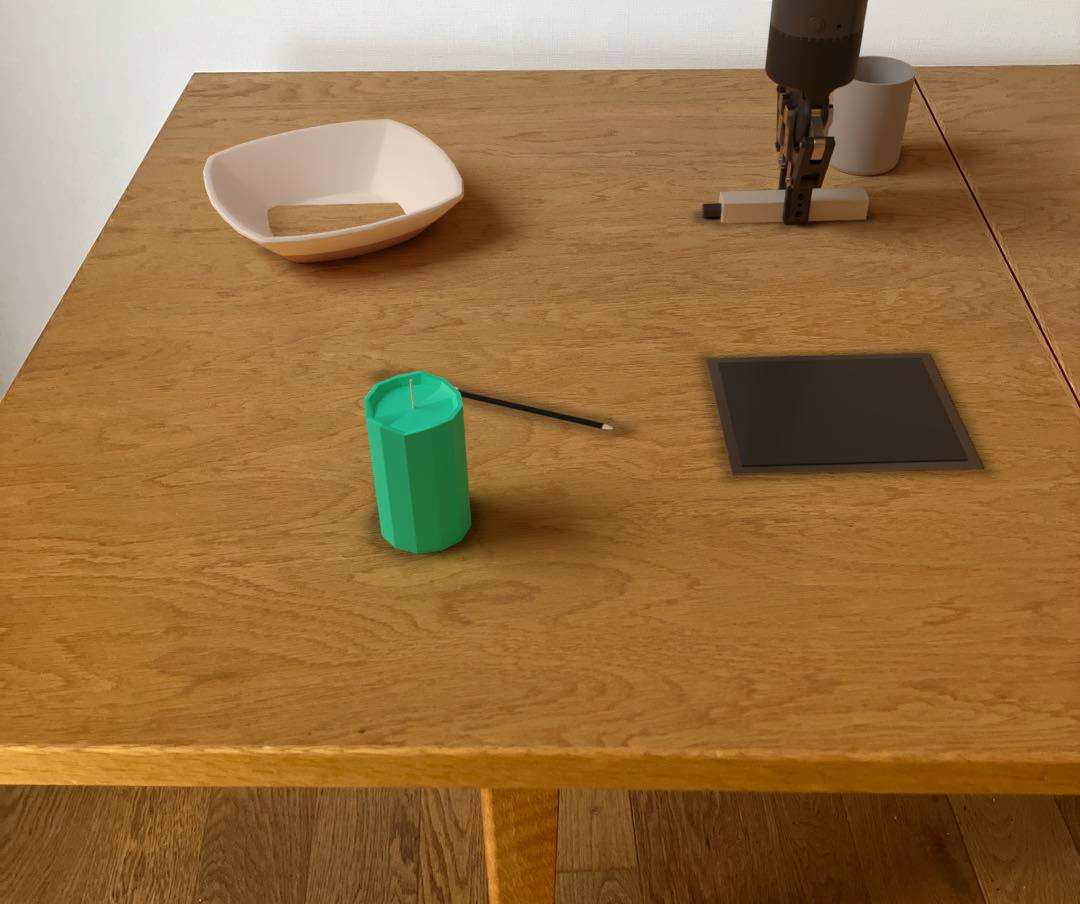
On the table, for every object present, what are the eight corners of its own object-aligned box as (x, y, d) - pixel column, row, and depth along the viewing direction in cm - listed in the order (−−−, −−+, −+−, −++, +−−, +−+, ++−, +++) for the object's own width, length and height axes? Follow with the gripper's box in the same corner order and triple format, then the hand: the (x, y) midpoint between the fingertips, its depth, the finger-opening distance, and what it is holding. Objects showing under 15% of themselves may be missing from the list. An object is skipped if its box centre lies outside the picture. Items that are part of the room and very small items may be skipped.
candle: (390, 500, 81) (371, 349, 73) (478, 504, 80) (468, 353, 72) (372, 560, 76) (349, 407, 68) (465, 566, 76) (453, 412, 68)
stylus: (859, 211, 109) (863, 187, 108) (865, 224, 108) (869, 199, 106) (700, 216, 109) (702, 191, 108) (703, 229, 108) (705, 204, 106)
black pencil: (390, 381, 91) (388, 369, 90) (627, 436, 85) (628, 423, 85) (384, 387, 90) (383, 375, 90) (623, 443, 85) (624, 430, 84)
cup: (893, 181, 115) (910, 88, 109) (789, 167, 117) (801, 76, 111) (902, 150, 120) (919, 60, 114) (802, 137, 122) (814, 49, 116)
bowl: (408, 159, 120) (403, 107, 116) (495, 254, 105) (492, 198, 102) (194, 205, 113) (182, 151, 110) (255, 313, 99) (244, 256, 95)
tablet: (926, 363, 92) (929, 351, 91) (979, 478, 82) (983, 466, 81) (705, 369, 92) (706, 356, 91) (730, 485, 81) (732, 472, 81)
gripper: (884, 47, 92) (849, 252, 103) (845, -12, 102) (817, 180, 113) (786, 50, 92) (762, 254, 103) (757, -10, 102) (738, 182, 113)
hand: (791, 214), depth 108 cm, fingers closed on stylus, 2 cm apart
